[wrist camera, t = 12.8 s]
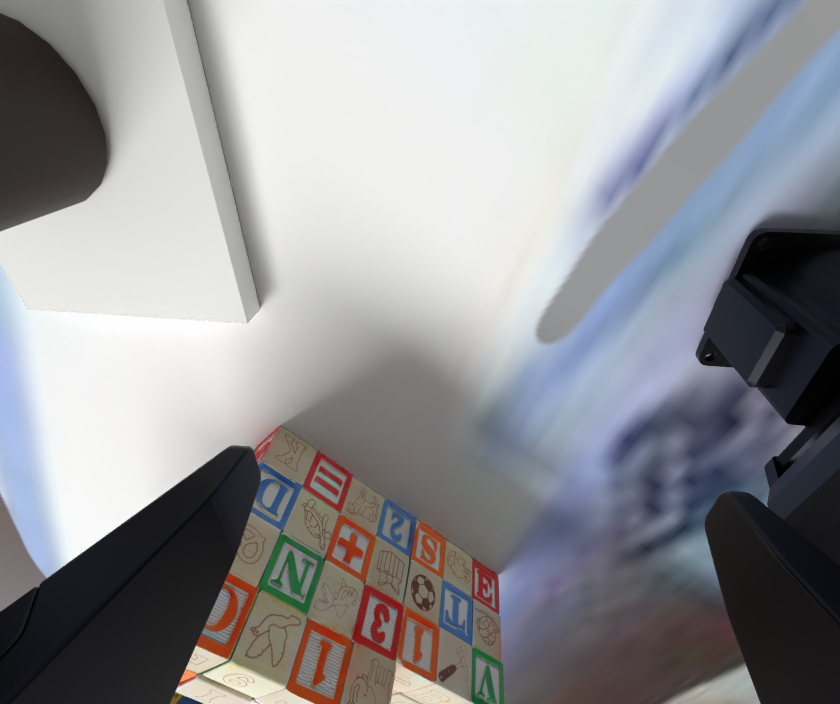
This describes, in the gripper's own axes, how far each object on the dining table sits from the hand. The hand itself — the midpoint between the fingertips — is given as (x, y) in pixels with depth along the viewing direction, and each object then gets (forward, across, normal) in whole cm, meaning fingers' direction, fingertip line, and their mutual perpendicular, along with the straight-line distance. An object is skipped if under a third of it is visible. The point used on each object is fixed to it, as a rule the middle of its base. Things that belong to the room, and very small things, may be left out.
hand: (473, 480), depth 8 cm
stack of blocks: (+13, +6, +22) cm, 26 cm away
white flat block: (+13, +17, -4) cm, 22 cm away
